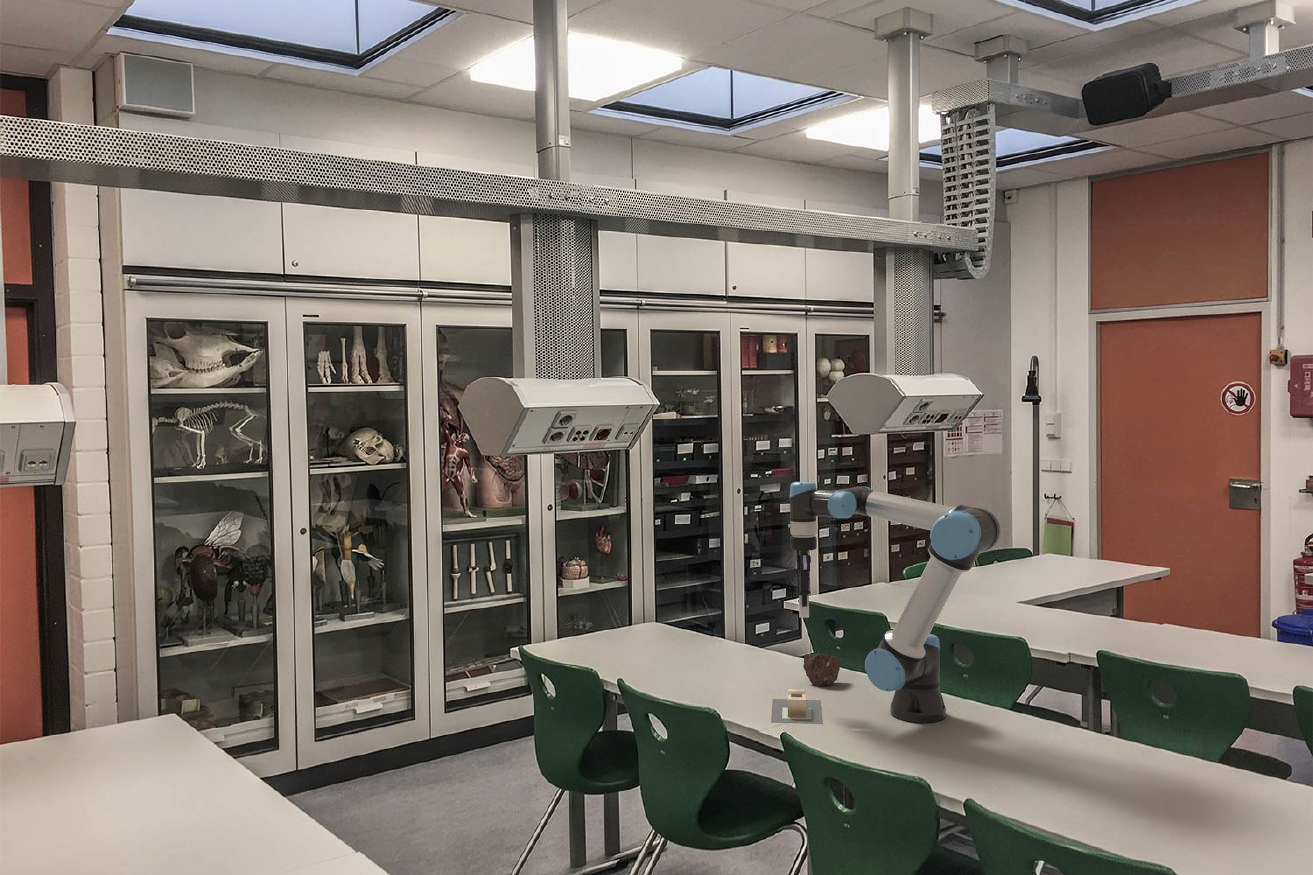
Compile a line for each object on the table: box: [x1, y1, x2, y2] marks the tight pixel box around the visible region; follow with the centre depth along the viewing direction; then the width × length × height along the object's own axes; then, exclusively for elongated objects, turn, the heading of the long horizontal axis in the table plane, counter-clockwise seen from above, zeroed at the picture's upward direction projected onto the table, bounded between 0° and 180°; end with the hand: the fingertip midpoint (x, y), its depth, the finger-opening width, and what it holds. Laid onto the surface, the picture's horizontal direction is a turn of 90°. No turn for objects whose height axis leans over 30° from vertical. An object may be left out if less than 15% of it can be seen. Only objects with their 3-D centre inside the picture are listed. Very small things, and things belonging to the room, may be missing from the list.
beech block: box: [787, 688, 807, 718], centre depth 292 cm, size 5×5×10 cm
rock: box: [802, 653, 842, 687], centre depth 320 cm, size 12×10×10 cm
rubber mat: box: [770, 698, 824, 725], centre depth 294 cm, size 22×14×1 cm, turn 173°
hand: (804, 616), depth 299 cm, fingers closed
